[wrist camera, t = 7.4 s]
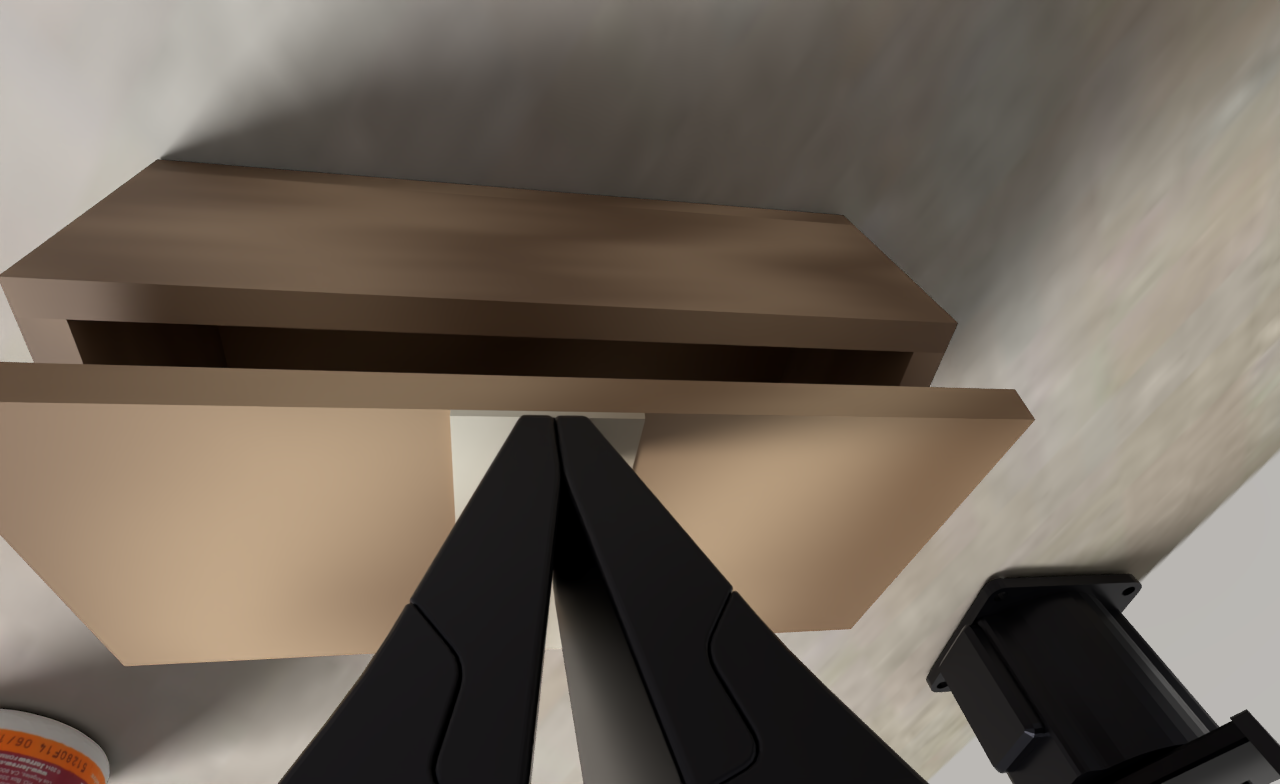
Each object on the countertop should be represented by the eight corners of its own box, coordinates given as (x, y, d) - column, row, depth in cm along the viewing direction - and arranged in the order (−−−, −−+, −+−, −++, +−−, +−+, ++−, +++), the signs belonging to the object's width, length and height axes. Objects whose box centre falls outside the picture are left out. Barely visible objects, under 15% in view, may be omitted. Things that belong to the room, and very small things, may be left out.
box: (843, 215, 16) (957, 323, 12) (769, 450, 20) (836, 592, 16) (157, 159, 13) (-3, 276, 9) (231, 447, 17) (144, 619, 13)
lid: (1014, 389, 10) (1038, 425, 10) (841, 602, 15) (852, 633, 15) (-93, 359, 8) (-133, 407, 7) (136, 633, 13) (122, 671, 12)
